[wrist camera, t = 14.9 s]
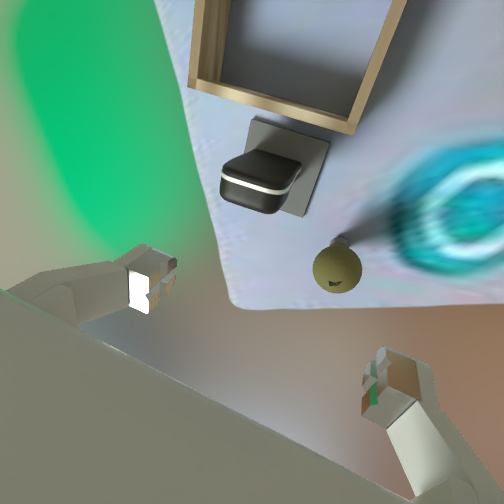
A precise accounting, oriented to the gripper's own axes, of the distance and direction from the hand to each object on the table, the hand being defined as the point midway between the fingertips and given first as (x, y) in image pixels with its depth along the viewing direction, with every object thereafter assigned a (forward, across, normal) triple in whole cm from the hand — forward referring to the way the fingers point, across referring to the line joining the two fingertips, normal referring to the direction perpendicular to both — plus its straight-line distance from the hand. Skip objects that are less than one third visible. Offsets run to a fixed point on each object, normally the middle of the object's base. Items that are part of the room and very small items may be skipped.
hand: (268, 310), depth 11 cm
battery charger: (+28, +7, +3) cm, 29 cm away
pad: (+29, +7, +4) cm, 30 cm away
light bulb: (+29, -4, +11) cm, 31 cm away
